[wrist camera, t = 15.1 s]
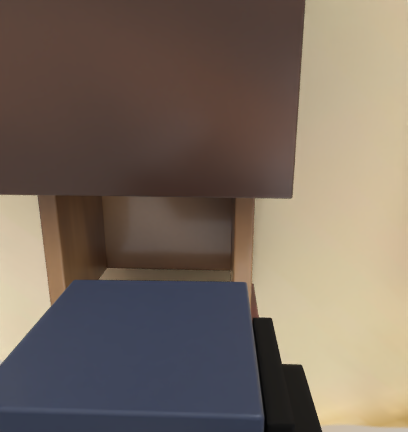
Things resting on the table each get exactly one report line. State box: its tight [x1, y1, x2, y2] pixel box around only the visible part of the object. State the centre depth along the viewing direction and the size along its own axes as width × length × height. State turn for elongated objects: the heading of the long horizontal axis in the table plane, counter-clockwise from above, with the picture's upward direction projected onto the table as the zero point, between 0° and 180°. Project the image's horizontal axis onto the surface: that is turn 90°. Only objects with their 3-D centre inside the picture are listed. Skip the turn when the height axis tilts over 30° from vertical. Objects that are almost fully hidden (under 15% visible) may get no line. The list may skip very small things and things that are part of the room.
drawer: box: [38, 195, 259, 320], centre depth 20 cm, size 18×10×7 cm, turn 0°
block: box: [0, 280, 264, 432], centre depth 9 cm, size 5×5×5 cm
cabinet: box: [0, 0, 305, 199], centre depth 17 cm, size 15×12×9 cm
